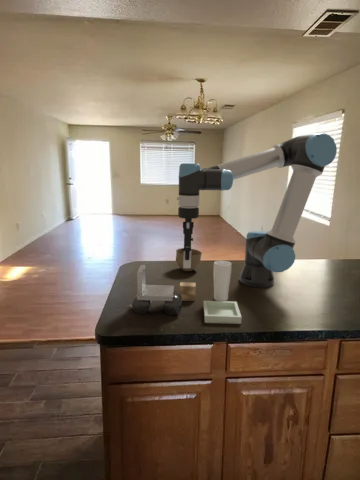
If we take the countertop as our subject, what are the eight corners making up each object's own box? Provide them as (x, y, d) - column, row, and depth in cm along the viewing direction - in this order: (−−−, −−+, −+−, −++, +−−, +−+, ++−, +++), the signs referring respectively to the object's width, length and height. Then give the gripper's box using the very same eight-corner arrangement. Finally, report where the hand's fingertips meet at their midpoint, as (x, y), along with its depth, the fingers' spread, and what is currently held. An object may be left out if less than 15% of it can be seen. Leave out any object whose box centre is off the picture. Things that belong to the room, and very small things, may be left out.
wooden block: (195, 296, 125) (195, 282, 124) (195, 301, 121) (195, 286, 120) (179, 296, 125) (180, 282, 124) (179, 300, 121) (179, 286, 120)
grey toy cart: (181, 304, 117) (182, 265, 114) (180, 317, 108) (181, 274, 104) (136, 303, 118) (135, 263, 114) (131, 315, 108) (130, 272, 104)
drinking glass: (218, 304, 118) (220, 266, 115) (208, 297, 124) (210, 261, 121) (233, 301, 121) (235, 264, 118) (222, 294, 127) (224, 259, 124)
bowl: (201, 274, 150) (202, 254, 148) (175, 274, 150) (175, 254, 148) (200, 266, 162) (201, 247, 160) (175, 265, 162) (176, 247, 160)
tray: (236, 307, 116) (236, 301, 115) (241, 324, 104) (241, 317, 103) (203, 306, 116) (203, 300, 116) (204, 322, 104) (205, 315, 104)
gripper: (179, 202, 127) (179, 253, 132) (176, 211, 103) (175, 272, 108) (198, 202, 127) (197, 253, 132) (199, 211, 103) (197, 273, 108)
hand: (187, 262), depth 120 cm, fingers open, 13 cm apart
